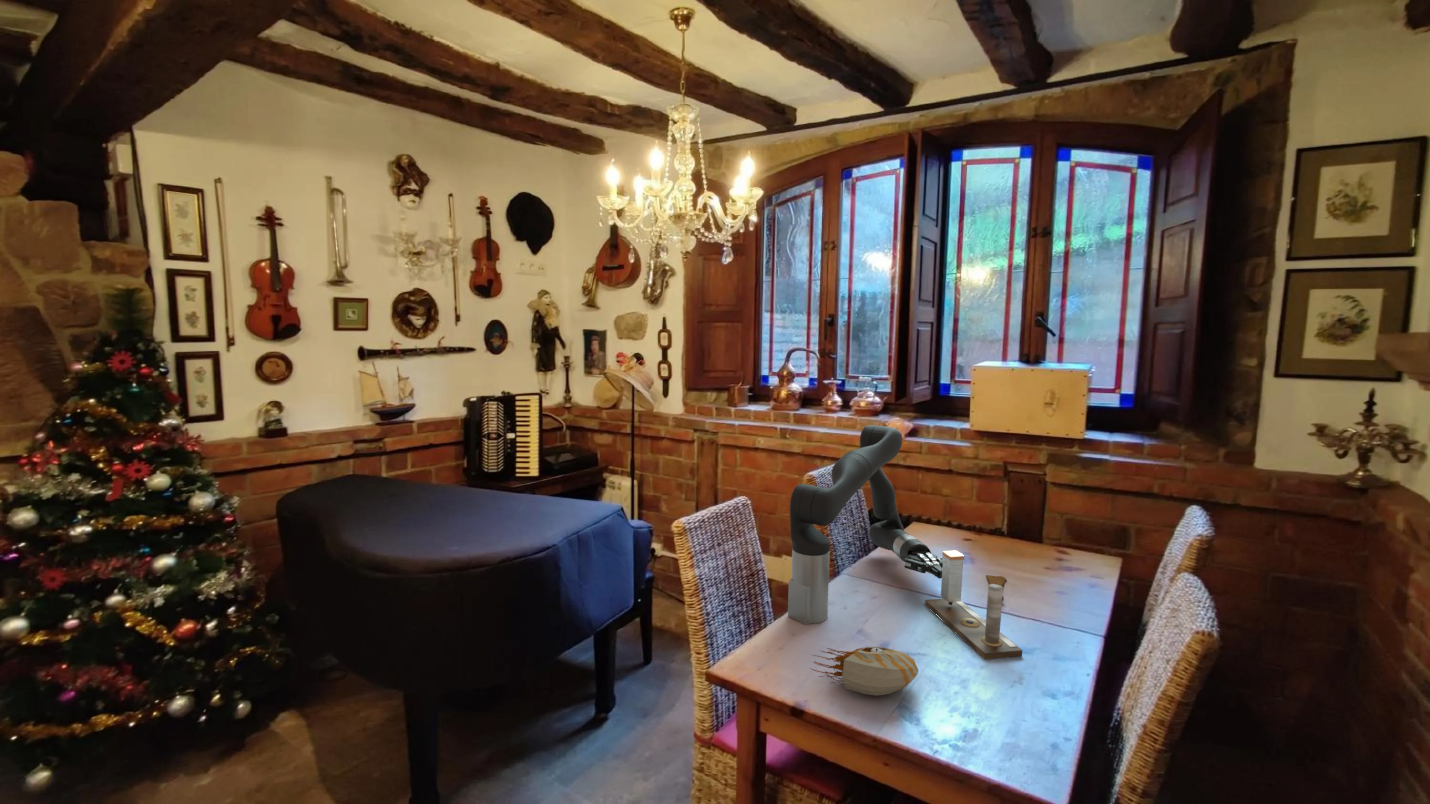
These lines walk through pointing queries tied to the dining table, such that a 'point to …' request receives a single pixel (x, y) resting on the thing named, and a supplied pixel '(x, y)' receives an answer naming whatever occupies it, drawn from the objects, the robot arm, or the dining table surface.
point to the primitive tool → (996, 581)
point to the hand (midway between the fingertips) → (942, 574)
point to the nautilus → (873, 670)
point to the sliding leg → (952, 576)
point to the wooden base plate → (978, 625)
